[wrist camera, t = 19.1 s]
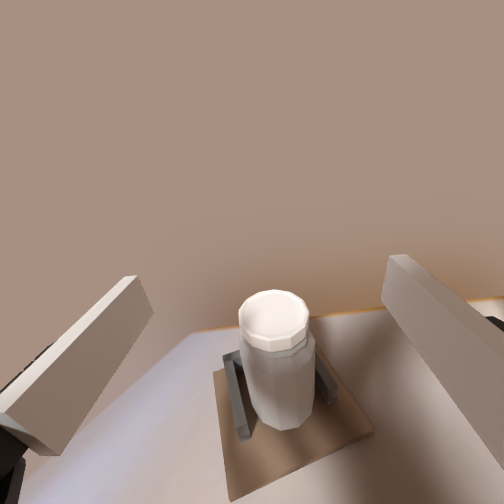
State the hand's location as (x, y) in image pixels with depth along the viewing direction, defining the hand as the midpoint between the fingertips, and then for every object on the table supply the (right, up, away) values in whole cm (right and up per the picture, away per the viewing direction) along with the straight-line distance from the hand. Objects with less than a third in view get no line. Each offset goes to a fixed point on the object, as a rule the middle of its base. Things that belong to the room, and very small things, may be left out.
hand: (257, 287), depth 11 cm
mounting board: (+4, -22, +22) cm, 32 cm away
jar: (+4, -21, +22) cm, 31 cm away
